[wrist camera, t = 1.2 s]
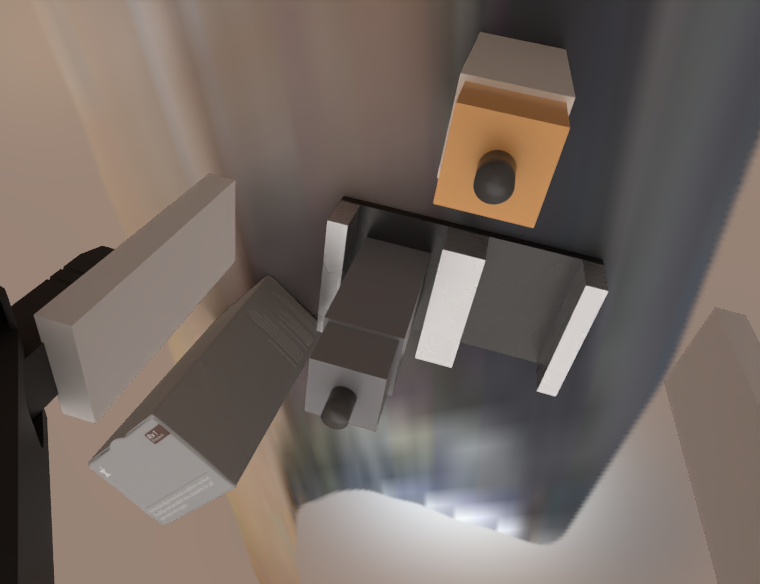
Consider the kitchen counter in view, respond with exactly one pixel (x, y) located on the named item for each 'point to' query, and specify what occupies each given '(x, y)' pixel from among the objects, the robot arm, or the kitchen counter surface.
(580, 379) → the kitchen counter surface
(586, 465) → the kitchen counter surface
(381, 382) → the twin plug
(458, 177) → the plug
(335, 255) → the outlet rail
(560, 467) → the kitchen counter surface
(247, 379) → the skincare box
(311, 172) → the kitchen counter surface
